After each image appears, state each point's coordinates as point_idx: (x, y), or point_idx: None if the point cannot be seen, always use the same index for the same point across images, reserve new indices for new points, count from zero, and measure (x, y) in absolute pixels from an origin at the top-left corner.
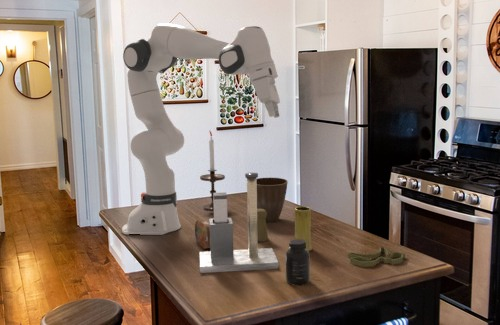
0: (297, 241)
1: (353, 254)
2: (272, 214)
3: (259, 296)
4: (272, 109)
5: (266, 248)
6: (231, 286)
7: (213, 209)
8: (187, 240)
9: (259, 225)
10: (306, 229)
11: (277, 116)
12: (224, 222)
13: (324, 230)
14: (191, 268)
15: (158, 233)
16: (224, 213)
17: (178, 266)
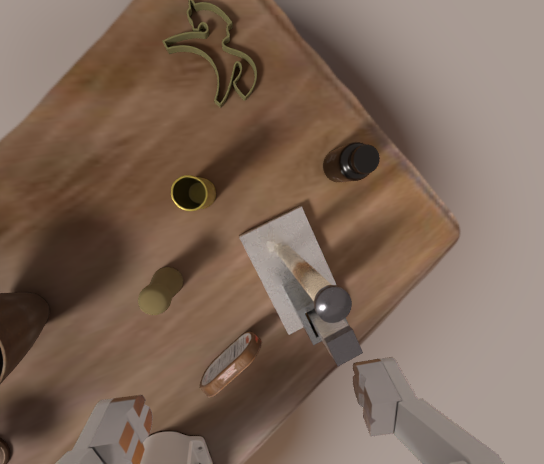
0: (365, 159)
1: (217, 96)
2: (38, 303)
3: (394, 200)
4: (429, 406)
5: (244, 244)
6: (373, 244)
7: (4, 445)
8: None
9: (172, 287)
10: (205, 182)
11: (142, 402)
12: None
13: (66, 179)
14: None
15: (205, 444)
16: None
17: None
